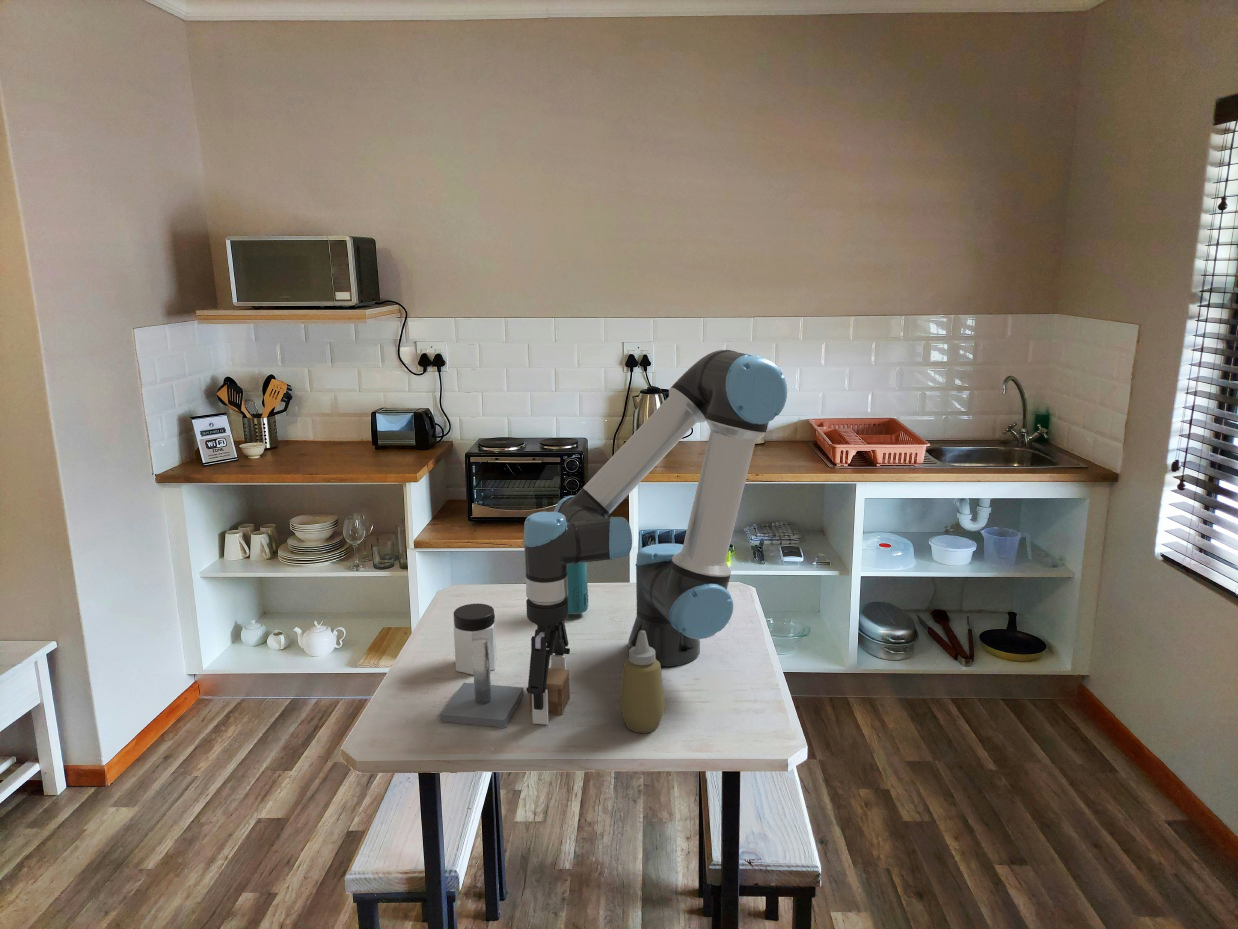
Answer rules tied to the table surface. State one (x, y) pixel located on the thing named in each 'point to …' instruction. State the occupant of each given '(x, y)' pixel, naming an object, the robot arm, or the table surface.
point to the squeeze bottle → (642, 688)
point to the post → (481, 670)
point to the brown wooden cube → (556, 690)
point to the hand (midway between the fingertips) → (550, 704)
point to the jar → (473, 634)
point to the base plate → (482, 706)
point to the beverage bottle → (577, 588)
